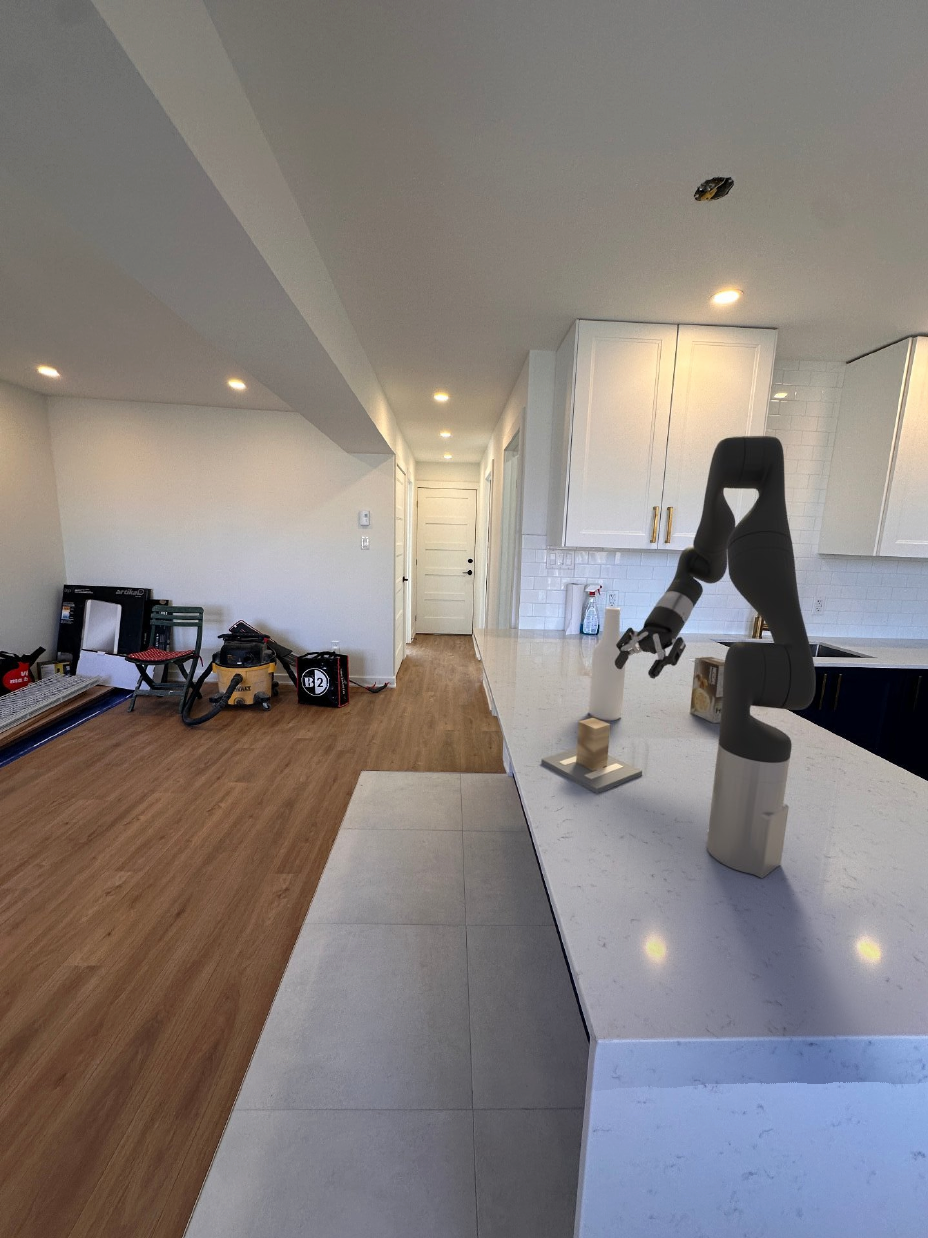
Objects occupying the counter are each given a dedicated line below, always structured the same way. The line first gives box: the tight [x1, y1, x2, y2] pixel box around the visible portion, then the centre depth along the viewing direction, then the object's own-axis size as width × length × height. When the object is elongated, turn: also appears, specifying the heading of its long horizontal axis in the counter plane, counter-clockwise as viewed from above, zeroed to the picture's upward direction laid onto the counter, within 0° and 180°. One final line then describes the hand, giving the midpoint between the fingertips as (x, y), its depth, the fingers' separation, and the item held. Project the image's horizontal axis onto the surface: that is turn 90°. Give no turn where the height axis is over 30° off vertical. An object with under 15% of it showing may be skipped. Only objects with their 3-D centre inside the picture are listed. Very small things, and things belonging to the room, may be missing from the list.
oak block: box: [576, 717, 611, 771], centre depth 103 cm, size 4×4×9 cm
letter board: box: [540, 747, 643, 794], centre depth 103 cm, size 15×14×1 cm
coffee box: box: [689, 656, 725, 724], centre depth 136 cm, size 9×6×16 cm
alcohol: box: [588, 606, 627, 721], centre depth 134 cm, size 9×9×30 cm
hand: (633, 671), depth 107 cm, fingers open, 8 cm apart
